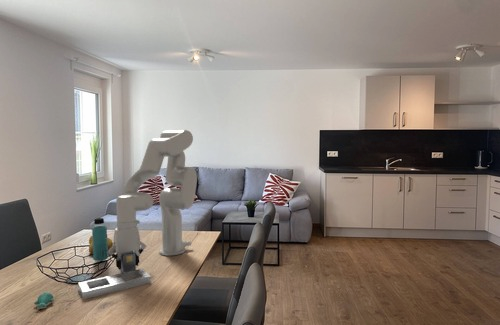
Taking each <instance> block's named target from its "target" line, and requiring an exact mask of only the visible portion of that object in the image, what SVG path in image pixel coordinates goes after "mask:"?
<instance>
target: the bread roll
mask: <svg viewBox="0 0 500 325" xmlns="http://www.w3.org/2000/svg"><path fill="white" fill-rule="evenodd" d="M107 238H108V239H107V240H108V241H107V243H108V251H109V249H110V248H111V247H112V246H113V245H114V241H113V240H112V239H111V238H109V237H107ZM88 244H89V245H88V253H89V254H91V255H93V245H92V244H93V238H92V235H91V236H90V237H89V240H88Z"/></svg>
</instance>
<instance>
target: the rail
mask: <svg viewBox="0 0 500 325" xmlns="http://www.w3.org/2000/svg"><path fill="white" fill-rule="evenodd" d="M151 283H152V276H151V275H150V274H149V273H148V271H146V270H145V269H144V268H139V269H136V270H134V271H129V272H124V273H122V272H120V273H115V274H112V275H106V276H102V277H98V278H93V279H89V280H84V281H81V282H80V281H79V282H78V283H77V285H78V288H77V289H78V292H79V293H80V296H81V299H82V300H85V299H89V298H90V299H91V298H94V297H98V296H102V295H106V294H111V293H114V292H119V291H123V290H127V289H131V288H134V287H140V286H143V285H147V284H151Z"/></svg>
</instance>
